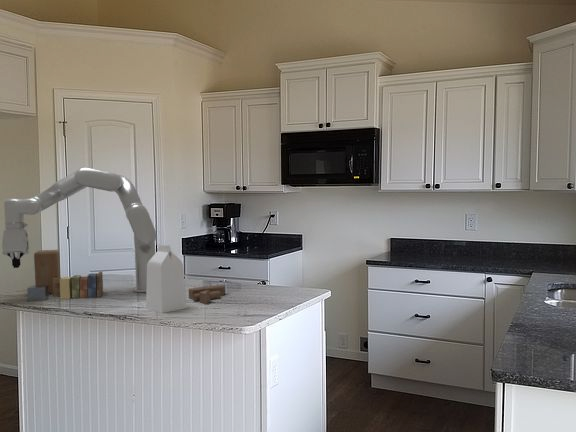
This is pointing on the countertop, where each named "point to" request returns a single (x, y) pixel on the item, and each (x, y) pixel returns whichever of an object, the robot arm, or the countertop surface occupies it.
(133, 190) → the robot arm
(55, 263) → the wooden block
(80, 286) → the rack
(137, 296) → the countertop surface
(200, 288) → the wooden block set
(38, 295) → the grey stone cube
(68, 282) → the tan rectangular block
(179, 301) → the milk
